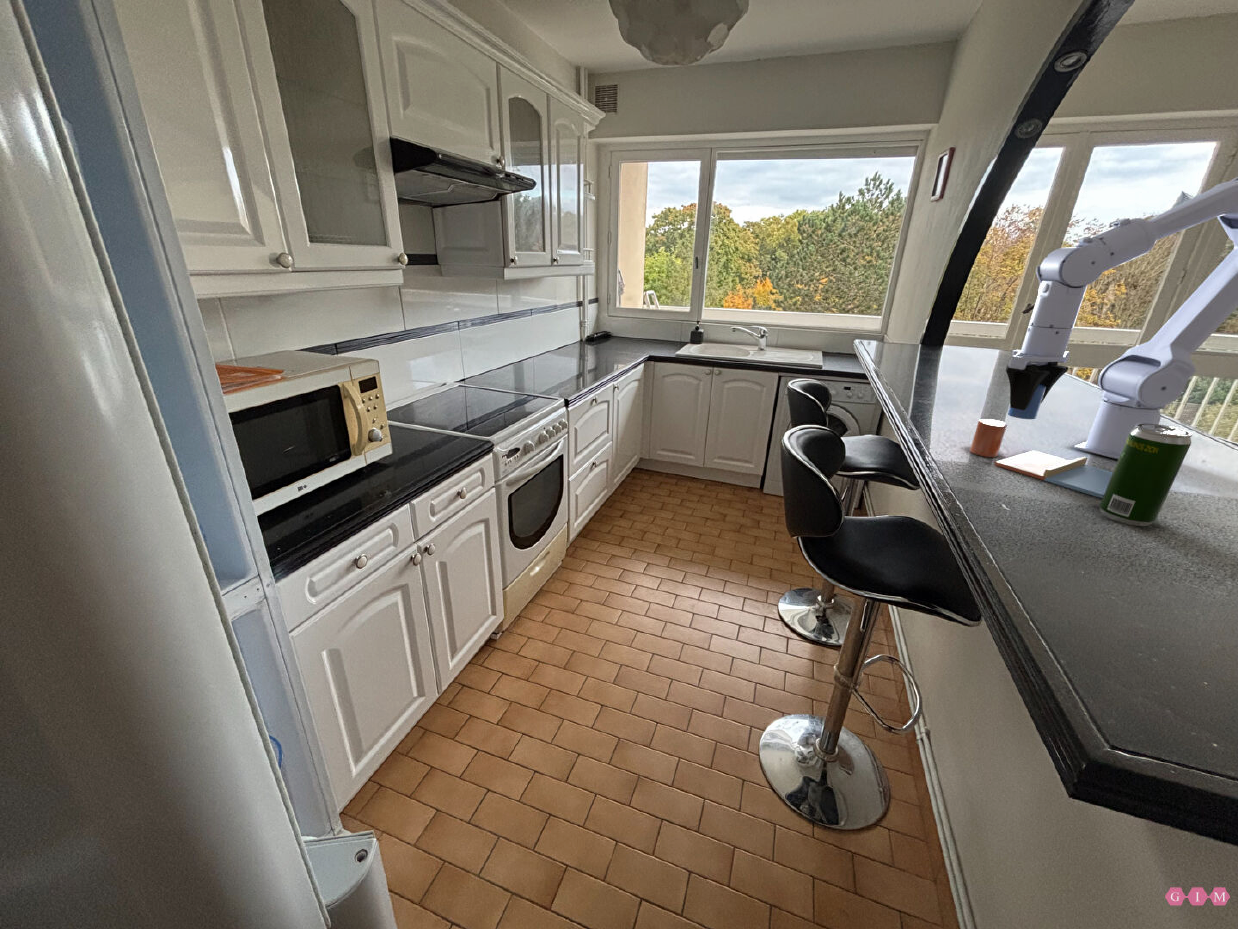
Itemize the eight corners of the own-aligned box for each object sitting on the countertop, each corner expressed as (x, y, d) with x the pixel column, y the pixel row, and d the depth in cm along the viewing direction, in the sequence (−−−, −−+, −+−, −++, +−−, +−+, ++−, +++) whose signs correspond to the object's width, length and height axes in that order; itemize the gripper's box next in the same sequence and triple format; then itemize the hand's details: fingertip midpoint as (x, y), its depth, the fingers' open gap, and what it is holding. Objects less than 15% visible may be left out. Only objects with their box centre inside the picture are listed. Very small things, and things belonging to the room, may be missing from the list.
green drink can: (1146, 531, 62) (1189, 439, 58) (1090, 514, 66) (1126, 426, 62) (1159, 520, 65) (1200, 431, 60) (1104, 504, 69) (1139, 420, 64)
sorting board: (1032, 453, 87) (1035, 443, 87) (1138, 483, 76) (1142, 472, 75) (994, 464, 82) (997, 454, 81) (1101, 498, 71) (1106, 486, 70)
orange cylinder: (977, 447, 90) (986, 417, 88) (1002, 454, 87) (1012, 424, 85) (964, 451, 88) (973, 420, 86) (989, 458, 85) (999, 427, 83)
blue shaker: (1014, 411, 91) (1024, 381, 89) (1040, 417, 87) (1051, 386, 85) (1002, 414, 89) (1012, 383, 87) (1028, 420, 86) (1038, 388, 84)
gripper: (1044, 322, 89) (1020, 397, 94) (999, 325, 83) (976, 406, 88) (1094, 326, 83) (1066, 406, 88) (1049, 330, 77) (1022, 416, 82)
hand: (1024, 407), depth 88 cm, fingers closed on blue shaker, 4 cm apart
